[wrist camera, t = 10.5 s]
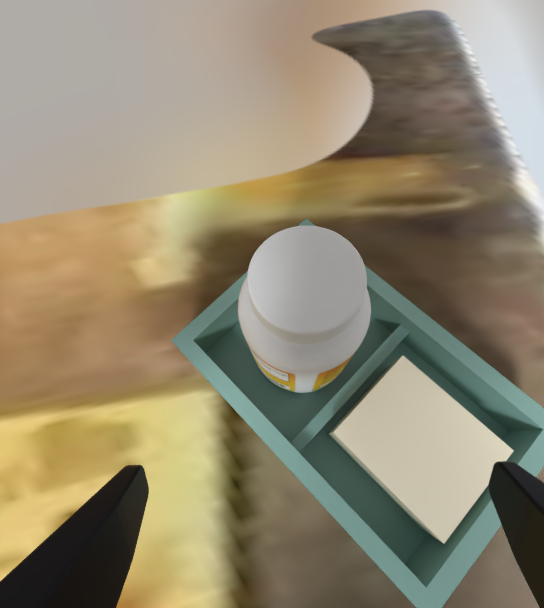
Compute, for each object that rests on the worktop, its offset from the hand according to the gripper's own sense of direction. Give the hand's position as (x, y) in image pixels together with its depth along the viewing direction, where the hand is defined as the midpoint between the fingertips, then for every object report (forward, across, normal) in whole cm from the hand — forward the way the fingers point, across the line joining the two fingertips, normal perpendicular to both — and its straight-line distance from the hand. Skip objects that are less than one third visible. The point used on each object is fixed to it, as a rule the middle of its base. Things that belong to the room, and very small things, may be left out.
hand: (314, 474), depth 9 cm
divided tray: (+10, -3, +5) cm, 12 cm away
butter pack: (+8, -5, +7) cm, 12 cm away
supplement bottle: (+12, 0, +3) cm, 12 cm away
